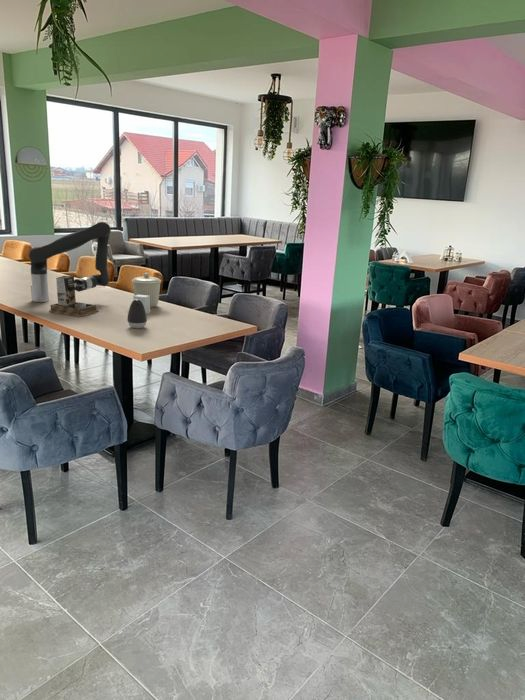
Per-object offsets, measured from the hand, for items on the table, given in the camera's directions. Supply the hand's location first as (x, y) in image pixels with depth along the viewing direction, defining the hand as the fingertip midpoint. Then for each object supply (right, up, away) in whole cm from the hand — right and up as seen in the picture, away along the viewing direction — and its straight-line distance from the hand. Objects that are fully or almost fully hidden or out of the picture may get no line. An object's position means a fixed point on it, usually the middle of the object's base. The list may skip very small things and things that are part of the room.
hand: (63, 288), depth 307 cm
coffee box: (0, -9, +5) cm, 10 cm away
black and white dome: (+48, -24, -23) cm, 58 cm away
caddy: (+5, -13, +4) cm, 14 cm away
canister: (+42, -8, +27) cm, 51 cm away
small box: (+43, -14, +9) cm, 46 cm away
